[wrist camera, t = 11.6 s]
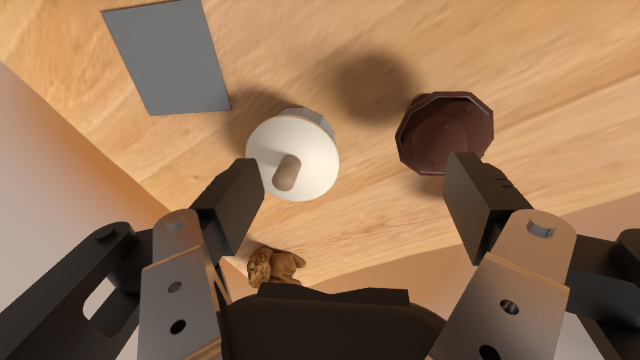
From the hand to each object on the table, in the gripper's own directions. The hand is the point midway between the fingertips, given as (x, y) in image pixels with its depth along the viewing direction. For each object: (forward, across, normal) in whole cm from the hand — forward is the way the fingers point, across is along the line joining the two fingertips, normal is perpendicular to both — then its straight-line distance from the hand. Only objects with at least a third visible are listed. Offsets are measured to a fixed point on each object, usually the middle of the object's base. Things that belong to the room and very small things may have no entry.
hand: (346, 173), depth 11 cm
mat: (+30, +28, -2) cm, 41 cm away
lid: (+24, +10, +12) cm, 29 cm away
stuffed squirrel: (+30, +20, +42) cm, 55 cm away
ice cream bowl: (+30, -10, +8) cm, 33 cm away
